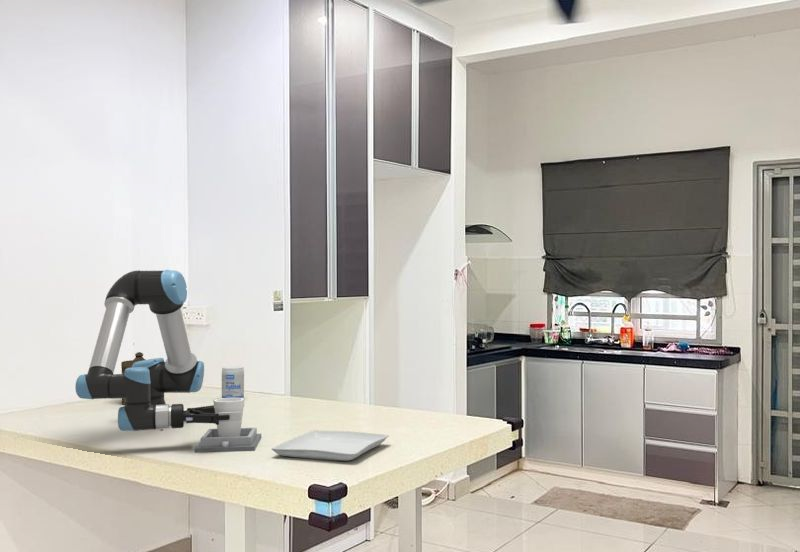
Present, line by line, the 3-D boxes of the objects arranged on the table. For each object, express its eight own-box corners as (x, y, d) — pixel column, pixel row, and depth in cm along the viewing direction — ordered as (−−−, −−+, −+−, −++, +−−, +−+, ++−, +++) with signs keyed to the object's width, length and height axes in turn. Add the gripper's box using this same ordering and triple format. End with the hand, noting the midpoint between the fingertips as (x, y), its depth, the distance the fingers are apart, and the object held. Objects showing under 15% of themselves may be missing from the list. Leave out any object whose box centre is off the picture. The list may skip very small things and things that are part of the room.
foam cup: (249, 438, 246) (249, 398, 246) (236, 444, 237) (235, 402, 237) (222, 437, 248) (222, 397, 248) (208, 442, 239) (208, 401, 239)
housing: (206, 438, 252) (206, 427, 252) (261, 437, 253) (261, 426, 253) (194, 452, 232) (194, 440, 232) (254, 450, 233) (254, 438, 233)
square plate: (313, 440, 249) (313, 428, 249) (390, 446, 239) (390, 433, 239) (270, 459, 223) (270, 446, 223) (354, 466, 213) (354, 452, 213)
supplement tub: (225, 403, 326) (225, 368, 326) (218, 400, 334) (218, 366, 334) (247, 400, 331) (246, 367, 331) (240, 398, 339) (239, 365, 339)
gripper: (172, 421, 250) (238, 417, 255) (168, 436, 226) (241, 431, 231) (172, 398, 250) (237, 395, 255) (168, 410, 226) (241, 407, 231)
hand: (239, 412), depth 243 cm, fingers open, 13 cm apart
